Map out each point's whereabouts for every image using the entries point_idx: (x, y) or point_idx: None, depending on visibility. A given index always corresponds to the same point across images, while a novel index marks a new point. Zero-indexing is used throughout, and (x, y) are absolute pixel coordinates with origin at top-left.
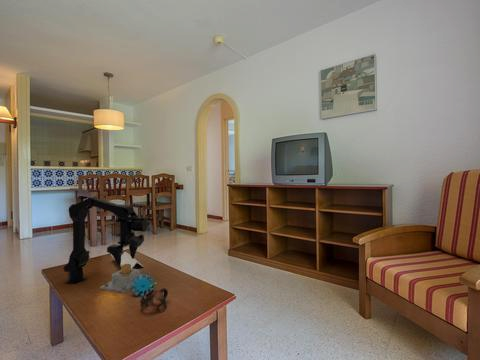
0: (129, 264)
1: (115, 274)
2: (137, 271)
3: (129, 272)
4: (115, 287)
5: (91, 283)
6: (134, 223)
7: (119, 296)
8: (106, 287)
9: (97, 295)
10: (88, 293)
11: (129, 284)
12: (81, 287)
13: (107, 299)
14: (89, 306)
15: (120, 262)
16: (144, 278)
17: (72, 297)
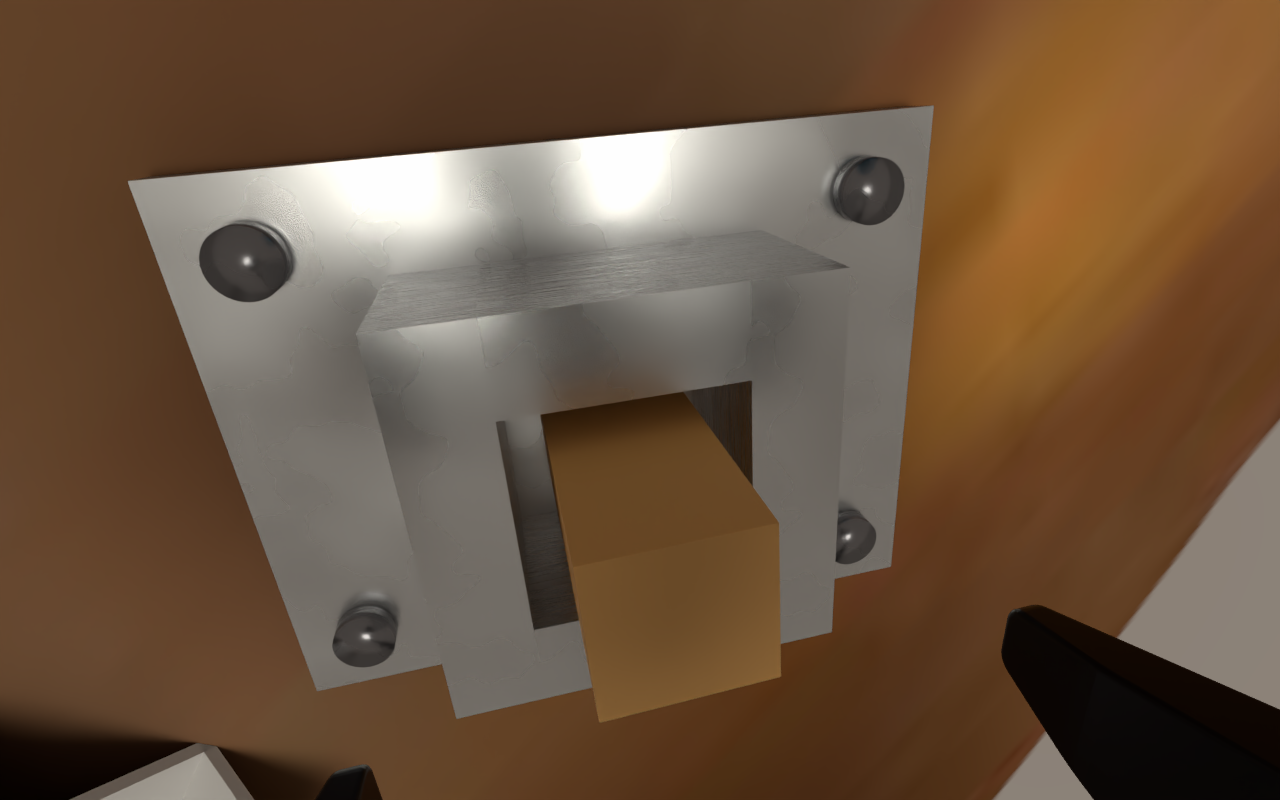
0: (606, 585)
1: (817, 575)
2: (454, 315)
3: (599, 441)
4: (858, 363)
5: (771, 760)
6: None
7: (1020, 88)
8: (886, 481)
9: (1024, 421)
10: (992, 558)
11: (702, 233)
12: (881, 746)
13: (1111, 192)
14: (1268, 253)
15: (1106, 654)
16: (336, 160)
17: (1086, 608)
